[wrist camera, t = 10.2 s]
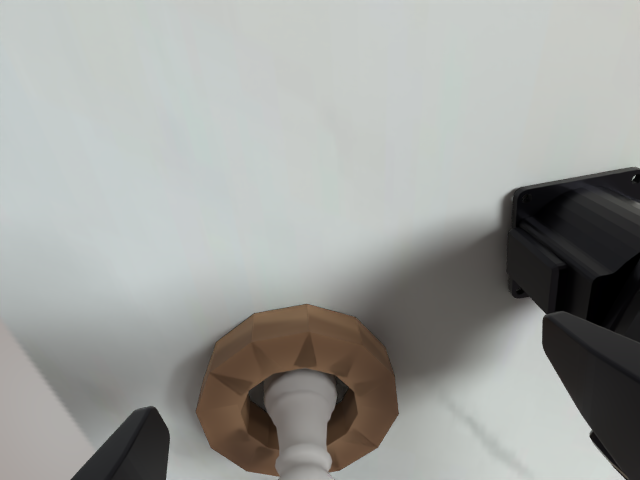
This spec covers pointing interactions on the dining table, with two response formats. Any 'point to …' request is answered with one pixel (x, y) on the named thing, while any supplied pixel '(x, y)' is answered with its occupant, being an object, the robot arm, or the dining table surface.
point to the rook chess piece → (301, 421)
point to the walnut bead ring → (290, 354)
